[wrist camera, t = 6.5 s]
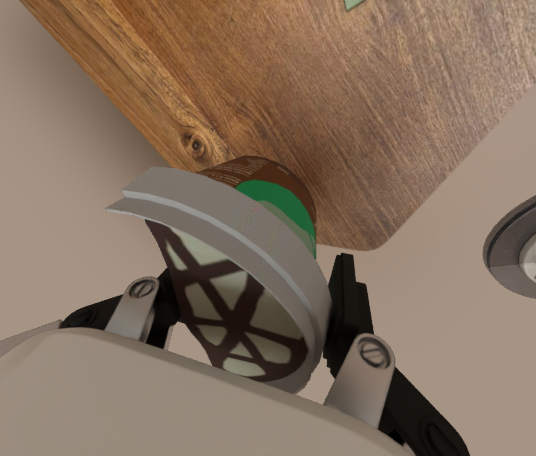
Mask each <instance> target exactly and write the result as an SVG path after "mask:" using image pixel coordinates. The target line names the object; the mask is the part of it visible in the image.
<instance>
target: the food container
mask: <svg viewBox="0 0 536 456" xmlns="http://www.w3.org/2000/svg"><path fill="white" fill-rule="evenodd" d="M121 191H122V193H123V195H124V198H123V199H121V200H119V201H117V202H115V203H114V204H112V205H110V206H108V207H107V208H105V209H106V211H110V212H115V213H122V214H128V215H133V216H136V217H140V218H143V219H145V222H146V224H147V226H148V227H149V229H150V230H151V232H152V234H153V236H154V237H155V239H156V241H157V243H158V245H159V248H160V250H161V252H162V255H163V257H164V259H165V262H166V265H167V267H168V269H169V272H170V275H171V279H172V283H173V286H174V290H175V294H176V298H177V301H178V305H179V308H180V312H181V315H182V318H183V321H184V323H185V324H186V326H187V327H188V329H189V330H190V332H191V333H192V334H193V335H194V336H195V338H196V339H197V340H198V341H199V342H200V343H201V345H202V346H203V348H204V349H205V351H206V353H207V355H208V357H209V359H210V361H211V364H212V366H213V367H216V368H219V369H222V370H225V371H228V372H231V373H234V374H237V375H240V376H242V377H245V378H248V379H251V380H254V381H257V382H260V383H263V384H265V385H268V386H271V387H274V388H277V389H280V390H283V391H286V392H288V393H291V394H294V395H296V394H297V393H298V392H299V391H301V390H302V389H303V388H304V387H305V386H306V384H307V382H308V381H309V380H310V377H311V373H312V372H313V371H314V370H315V368H316V367H317V365H318V364H319V362H320V358H321V355H322V351H323V348H324V344H325V341H326V337H327V334H328V330H329V326H330V322H331V318H332V300H331V296H330V292H329V288H328V284H327V281H326V279H325V277H324V275H323V273H322V271H321V269H320V267H319V265H318V263H317V261H316V209H315V205H314V201H313V199H312V197H311V194H310V192H309V191H308V189H307V188H306V186H305V185H304V183H303V182H302V181H301V180H300V179H299V178H298V177H297V176H296V175H295V174H294V173H293V172H292V171H290V170H289V169H288V168H286V167H284V166H283V165H281V164H279V163H277V162H275V161H272V160H270V159H267V158H262V157H258V156H242V157H239V158H236V159H233V160H230V161H228V162H225V163H222V164H219V165H216V166H213V167H211V168H208V169H205V170H202V171H199V172H197V173H192V172H187V171H183V170H179V169H175V168H162V167H151V168H150V169H148V170H147V171H146V172H145V173H143V174H142V175H140V176H139V177H138V178H136V179H135V180H134V181H132V182H131V183H130V184H128V185H127V186H126V187H124V188H123V189H122V190H121Z"/></svg>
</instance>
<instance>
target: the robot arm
mask: <svg viewBox="0 0 536 456" xmlns="http://www.w3.org/2000/svg"><path fill="white" fill-rule="evenodd" d="M519 265H520V267H521V269H522V271H523V272H524V273H525V274H526V275H527V276H528V277H529V278H530V279H531V280H532V281H534V282H535V283H536V234H535V235H533V236H532V237H531V238H530V239H529V240H528V241H527V243H526V244H525V245H524V247H523V249H522V250H521V253H520V256H519ZM328 288H329V292H330V296H331V300H332V318H331V322H330V326H329V330H328V334H327V337H326V341H325V344H324V348H323V358H325V359H327V367H329V368H330V373H331V374H332V376H333V377H334V378H335V381H334V383H333V385H332V387H331V389H330V391H329V393H328V396H327V397H326V399H325V402H324V404H323V405H321V404H319V403H316V402H313V401H311V400H308V399H305V398H302V397H300V396H297V395H294V394H291V393H288V392H286V391H283V390H280V389H277V388H274V387H271V386H268V385H265V384H263V383H260V382H257V381H254V380H251V379H248V378H245V377H242V376H240V375H237V374H234V373H231V372H228V371H225V370H222V369H219V368H216V367H213V366H210V365H207V364H205V363H202V362H198V361H196V360H193V359H190V358H187V357H184V356H181V355H178V354H175V353H172V352H169V351H168V347H169V343H170V339H171V335H172V331H173V327H174V325H175V324H176V323H177V321H178V322H181V323H184V321H183V318H182V315H181V312H180V308H179V305H178V301H177V298H176V294H175V290H174V286H173V283H172V279H171V275H170V272H169V269H168V267H167V268H166V269H165V271H164V272H163V273H162V274H161V275H160V276H159V277H158V278H155V277H143V278H140V279H138V280H136V281H134V282H132V283H131V284H130V285H129V286H128V288H127V289H126V291H125V292H124V294H122V295H120V296H116V297H113V298H110V299H107V300H104V301H101V302H98V303H95V304H92V305H89V306H86V307H83V308H80V309H78V310H76V311H75V312H73V313H71V314H70V315H69V316H68V317H67V318H66V319H65V320H64V321H62V320H58V321H55V322H52V323H49V324H46V325H43V326H41V327H38V328H35V329H32V330H29V331H26V332H24V333H21V334H18V335H15V336H12V337H9V338H7V339H4V340H2V341H0V456H470V454H469V452H468V449H467V446H466V444H465V443H464V441H463V439H462V438H461V436H460V435H459V433H458V432H457V431H456V430H455V429H454V428H453V427H452V425H451V424H450V423H449V422H448V421H447V420H446V419H445V418H444V417H443V416H442V415H441V414H440V413H439V412H438V411H437V410H436V409H435V407H433V405H432V404H430V402H429V401H428V400H427V399H426V398H425V397H424V396H423V395H422V394H421V393H420V392H419V391H418V390H417V389H416V388H415V387H414V386H413V385H412V384H411V382H410V381H408V379H407V378H406V377H405V376H404V375H403V374H402V373H401V372H400V371H399V370H398V369H397V368H396V367H395V356H394V353H393V351H392V350H391V348H390V347H389V345H388V344H387V343H386V342H385V341H384V340H382V339H381V338H380V337H378V336H376V335H374V331H373V324H372V319H371V312H370V306H369V299H368V293H367V287H366V284H364V283H359V282H356V277H355V268H354V258H353V255H351V254H346V253H341V255H337V256H336V259H335V263H334V266H333V270H332V274H331V277H330V281H329V284H328ZM184 324H185V323H184Z"/></svg>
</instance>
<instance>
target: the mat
mask: <svg viewBox="0 0 536 456" xmlns="http://www.w3.org/2000/svg"><path fill="white" fill-rule="evenodd" d="M363 1H364V0H344V3H345V8H346V12H348V11H349V10H351V9H352V8H354V7H355V6H357V5H358V4H360V3H361V2H363Z"/></svg>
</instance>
